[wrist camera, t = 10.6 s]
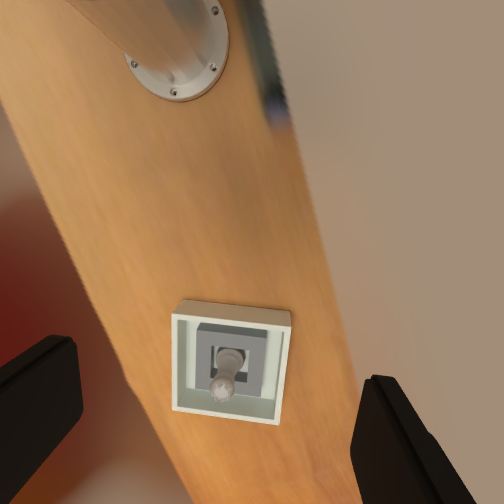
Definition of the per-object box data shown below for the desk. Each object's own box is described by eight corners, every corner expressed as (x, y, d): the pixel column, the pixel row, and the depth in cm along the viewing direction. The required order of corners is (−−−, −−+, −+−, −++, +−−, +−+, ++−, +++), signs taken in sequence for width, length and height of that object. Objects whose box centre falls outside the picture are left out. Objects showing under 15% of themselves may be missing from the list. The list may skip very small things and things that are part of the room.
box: (183, 299, 39) (171, 313, 35) (289, 310, 38) (291, 327, 34) (182, 387, 43) (172, 410, 39) (278, 400, 42) (278, 425, 38)
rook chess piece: (251, 356, 40) (245, 398, 32) (230, 371, 41) (219, 415, 33) (233, 335, 39) (222, 373, 31) (211, 351, 40) (195, 390, 32)
